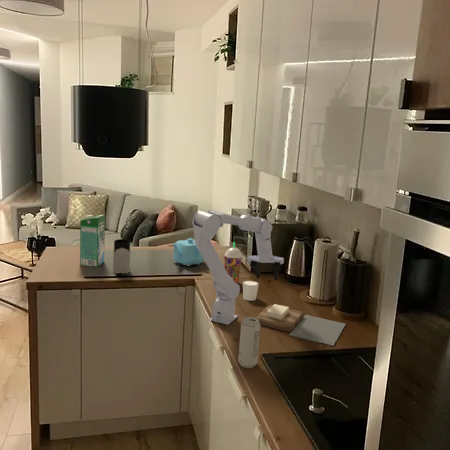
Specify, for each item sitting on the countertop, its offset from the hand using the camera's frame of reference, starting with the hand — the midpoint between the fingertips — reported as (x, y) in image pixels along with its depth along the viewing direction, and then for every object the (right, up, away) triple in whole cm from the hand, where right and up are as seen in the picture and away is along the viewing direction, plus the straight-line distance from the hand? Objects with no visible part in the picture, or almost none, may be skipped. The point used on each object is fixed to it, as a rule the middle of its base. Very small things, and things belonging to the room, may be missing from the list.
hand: (267, 278), depth 194 cm
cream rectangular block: (+3, -13, -7) cm, 15 cm away
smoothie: (-14, -6, +34) cm, 37 cm away
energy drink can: (-10, -22, -43) cm, 49 cm away
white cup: (-7, -11, +15) cm, 20 cm away
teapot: (-37, +1, +59) cm, 70 cm away
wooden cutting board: (+4, -16, -7) cm, 17 cm away
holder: (-68, 0, +42) cm, 80 cm away
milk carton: (-84, +2, +48) cm, 97 cm away
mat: (+18, -18, -13) cm, 28 cm away
